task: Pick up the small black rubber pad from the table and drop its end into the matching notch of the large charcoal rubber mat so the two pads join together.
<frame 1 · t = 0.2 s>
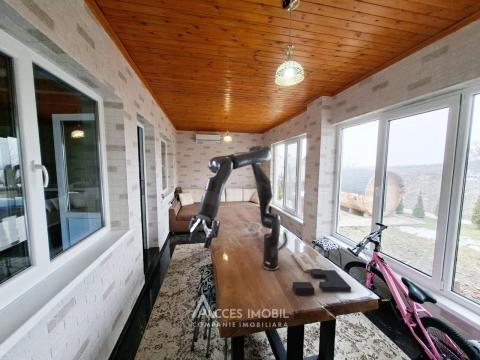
hand: (198, 245, 73), 31 cm above the table, tool tilted 20°, fingers open, 8 cm apart
notched mat: (329, 282, 103), on the table
newspaper: (306, 262, 125), on the table
black pad: (303, 291, 95), on the table
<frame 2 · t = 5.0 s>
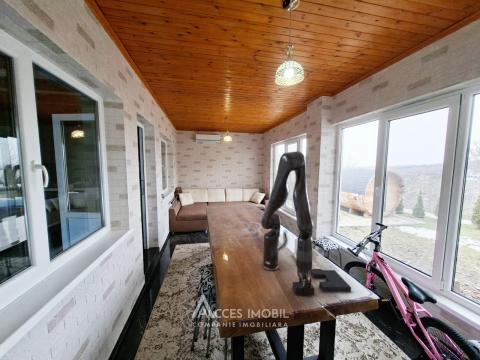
hand: (303, 290, 95), 0 cm above the table, tool pointing down, fingers closed on black pad, 5 cm apart
black pad: (303, 291, 95), on the table, touching gripper
everything else where it was.
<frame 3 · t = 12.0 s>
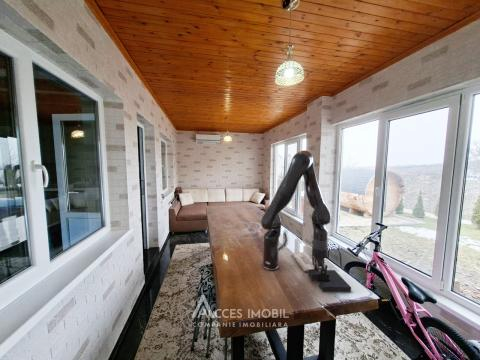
hand: (318, 277, 103), 3 cm above the table, tool pointing down, fingers closed on black pad, 5 cm apart
black pad: (318, 278, 103), point 2 cm above the table, touching gripper
everything else where it was.
when the fingers open (3 cm above the table, at t = 16.8 s): black pad drops 3 cm, on the table.
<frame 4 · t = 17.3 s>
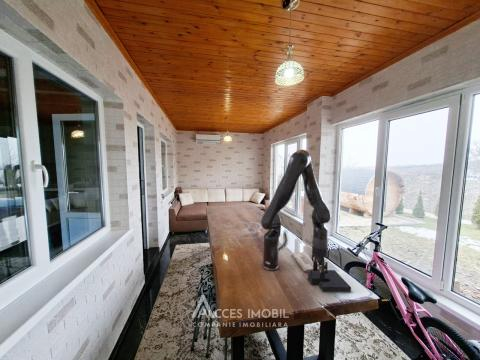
hand: (318, 274, 103), 4 cm above the table, tool pointing down, fingers open, 8 cm apart
black pad: (318, 281, 103), on the table
everything else where it was.
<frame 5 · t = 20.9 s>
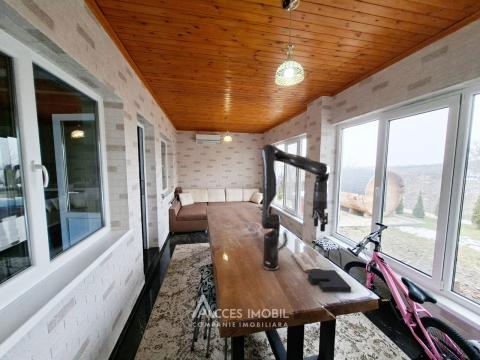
hand: (319, 228, 105), 28 cm above the table, tool pointing down, fingers open, 8 cm apart
nothing on the table moved.
at the end: black pad 0.3 cm from the target spot, on the table; black pad tilted 0°; the gripper is holding nothing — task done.
